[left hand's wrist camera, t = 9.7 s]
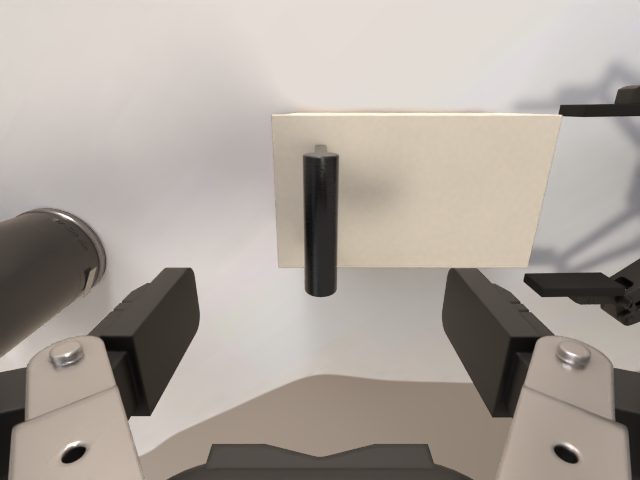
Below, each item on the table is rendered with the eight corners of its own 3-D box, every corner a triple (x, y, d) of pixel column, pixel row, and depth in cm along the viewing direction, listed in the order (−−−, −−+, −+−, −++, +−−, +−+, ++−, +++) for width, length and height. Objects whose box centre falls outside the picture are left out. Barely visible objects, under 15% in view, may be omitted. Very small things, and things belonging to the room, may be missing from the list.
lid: (279, 263, 26) (263, 324, 18) (272, 114, 22) (249, 118, 15) (521, 263, 26) (600, 324, 18) (554, 114, 22) (669, 118, 15)
